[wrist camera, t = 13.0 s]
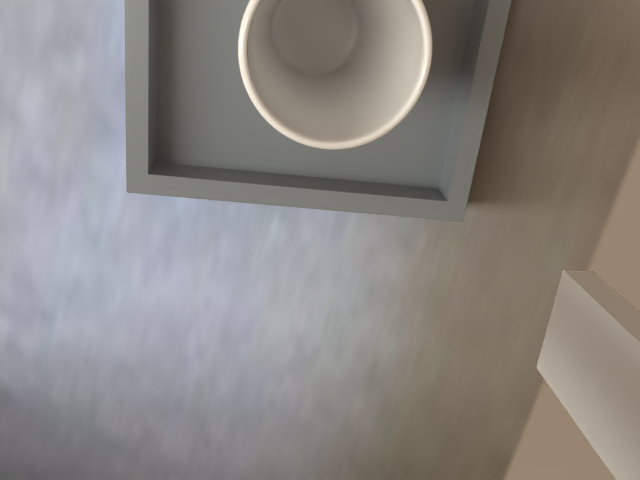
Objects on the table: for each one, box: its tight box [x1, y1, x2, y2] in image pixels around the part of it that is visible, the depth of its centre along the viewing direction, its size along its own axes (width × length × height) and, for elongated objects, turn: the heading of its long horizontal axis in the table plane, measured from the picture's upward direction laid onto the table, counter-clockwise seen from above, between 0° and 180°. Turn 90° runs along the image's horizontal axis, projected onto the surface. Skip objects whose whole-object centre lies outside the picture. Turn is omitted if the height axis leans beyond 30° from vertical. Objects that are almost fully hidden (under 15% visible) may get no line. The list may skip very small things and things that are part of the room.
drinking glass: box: [238, 0, 432, 150], centre depth 27 cm, size 7×7×15 cm
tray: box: [125, 0, 512, 222], centre depth 33 cm, size 20×20×4 cm
